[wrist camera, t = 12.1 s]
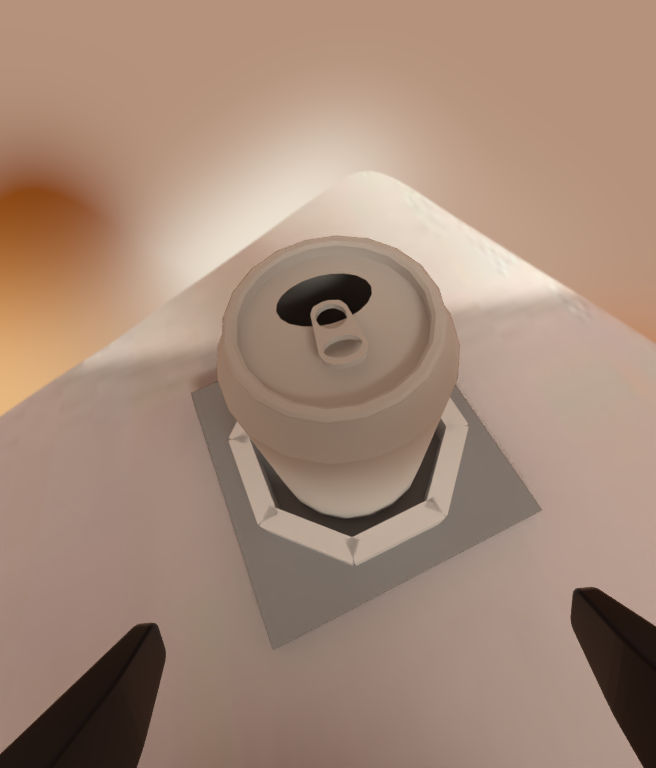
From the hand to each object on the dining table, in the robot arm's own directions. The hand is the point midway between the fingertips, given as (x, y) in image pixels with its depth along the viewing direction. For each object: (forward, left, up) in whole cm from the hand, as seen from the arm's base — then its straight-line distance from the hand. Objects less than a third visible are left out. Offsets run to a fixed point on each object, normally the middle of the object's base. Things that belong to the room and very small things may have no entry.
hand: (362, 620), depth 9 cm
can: (+3, +7, -11) cm, 13 cm away
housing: (+3, +7, -12) cm, 14 cm away
